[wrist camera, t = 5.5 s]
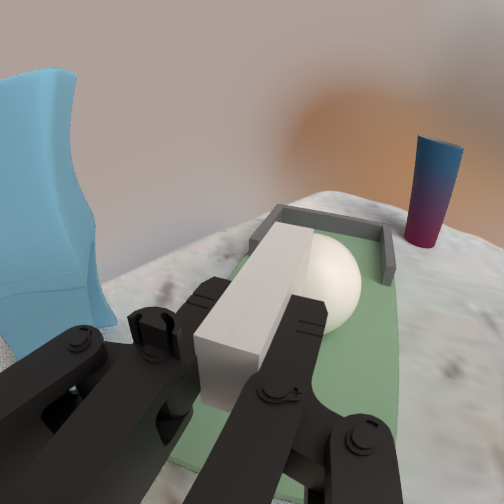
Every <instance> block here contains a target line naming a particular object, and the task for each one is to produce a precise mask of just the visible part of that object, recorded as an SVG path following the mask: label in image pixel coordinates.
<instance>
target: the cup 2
mask: <svg viewBox="0 0 504 504" xmlns="http://www.w3.org/2000/svg"><path fill="white" fill-rule="evenodd" d="M417 141H418V142H417V152H416V161H415V171H414V178H413V185H412V193H411V199H410V205H409V211H408V217H407V223H406V228H405V234H404V237H405V239H406V240H407V241H408V242H410V243H411V244H413V245H416V246H419V247H423V248H432V247H434V245H435V242H436V240H437V237H438V234H439V231H440V229H441V226H442V223H443V220H444V217H445V214H446V211H447V208H448V204H449V201H450V198H451V194H452V191H453V187H454V184H455V181H456V177H457V174H458V170H459V166H460V162H461V158H462V154H463V149H464V148H463V147H461V146H459V145H457V144H454V143H451V142H447V141H445V140H441V139H438V138H433V137H429V136H424V135H418V140H417Z"/></svg>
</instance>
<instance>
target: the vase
mask: <svg viewBox="0 0 504 504" xmlns="http://www.w3.org/2000/svg"><path fill="white" fill-rule="evenodd" d="M76 77H77V75H76V74H75V73H72V72H69V71H66V70H63V69H60V68H48V69H41V70H36V71H32V72H27V73H23V74H20V75H16V76H13V77H10V78H6V79H3V80H0V336H1V337H2V338H3V340H4V341H5V342H6V344H7V345H8V346H9V348H10V349H11V350H12V352H13V354H14V355H15V357H16V359H17V360H18V361H19V360H21V359H22V358H24V357H25V356H27V355H28V354H30V353H31V352H33V351H34V350H36V349H37V348H39V347H40V346H42V345H44V344H45V343H47V342H48V341H50V340H51V339H53V338H54V337H56V336H58V335H59V334H61V333H62V332H64V331H65V330H67V329H69V328H71V327H74V326H78V325H91V326H93V327H95V328H100V327H106V326H113V325H117V318H116V316H115V315H114V313H113V311H112V310H111V308H110V306H109V305H108V303H107V301H106V299H105V297H104V294H103V292H102V289H101V286H100V283H99V279H98V274H97V267H96V257H95V221H94V215H93V213H92V211H91V209H90V207H89V205H88V203H87V201H86V199H85V197H84V195H83V193H82V190H81V188H80V186H79V183H78V180H77V178H76V175H75V172H74V168H73V163H72V158H71V150H70V120H71V110H72V102H73V96H74V90H75V84H76ZM75 389H76V387H75V386H74V387H72V388H71V389H70V390H75Z"/></svg>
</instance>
